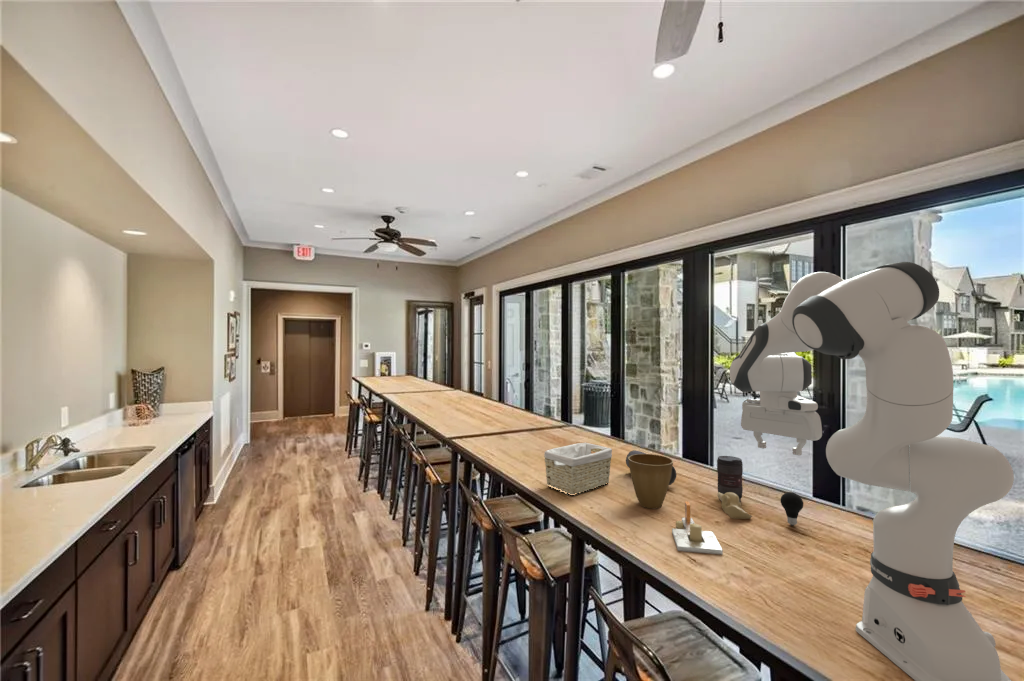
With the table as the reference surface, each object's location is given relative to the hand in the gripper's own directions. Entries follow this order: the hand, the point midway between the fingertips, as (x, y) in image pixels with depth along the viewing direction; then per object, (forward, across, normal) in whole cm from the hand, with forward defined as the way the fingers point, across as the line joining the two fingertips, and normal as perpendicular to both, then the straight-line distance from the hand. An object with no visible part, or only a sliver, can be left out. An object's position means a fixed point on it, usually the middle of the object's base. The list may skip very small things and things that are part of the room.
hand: (779, 451), depth 119 cm
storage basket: (+26, -68, -16) cm, 74 cm away
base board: (+26, -12, -18) cm, 34 cm away
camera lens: (+25, -28, +20) cm, 42 cm away
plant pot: (+26, -40, -7) cm, 48 cm away
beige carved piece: (+26, -18, +7) cm, 32 cm away
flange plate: (+25, -15, -17) cm, 34 cm away
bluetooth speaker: (+25, -58, +13) cm, 65 cm away
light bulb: (+26, -5, +16) cm, 31 cm away
